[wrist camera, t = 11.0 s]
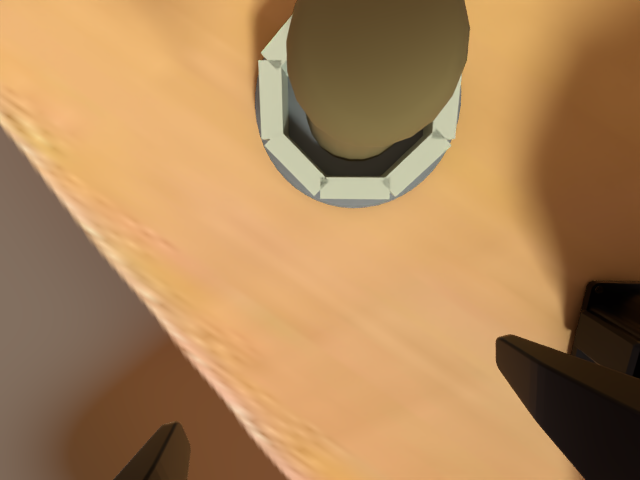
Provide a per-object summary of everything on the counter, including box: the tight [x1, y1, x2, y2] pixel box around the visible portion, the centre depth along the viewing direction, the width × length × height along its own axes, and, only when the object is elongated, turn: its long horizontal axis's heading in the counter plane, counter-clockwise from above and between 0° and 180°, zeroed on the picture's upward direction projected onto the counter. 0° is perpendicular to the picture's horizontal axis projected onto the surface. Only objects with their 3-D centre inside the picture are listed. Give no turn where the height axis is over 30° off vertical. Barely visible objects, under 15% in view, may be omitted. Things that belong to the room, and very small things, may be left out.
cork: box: [286, 0, 470, 161], centre depth 13 cm, size 6×6×11 cm
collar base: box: [255, 14, 462, 208], centre depth 18 cm, size 12×12×3 cm
